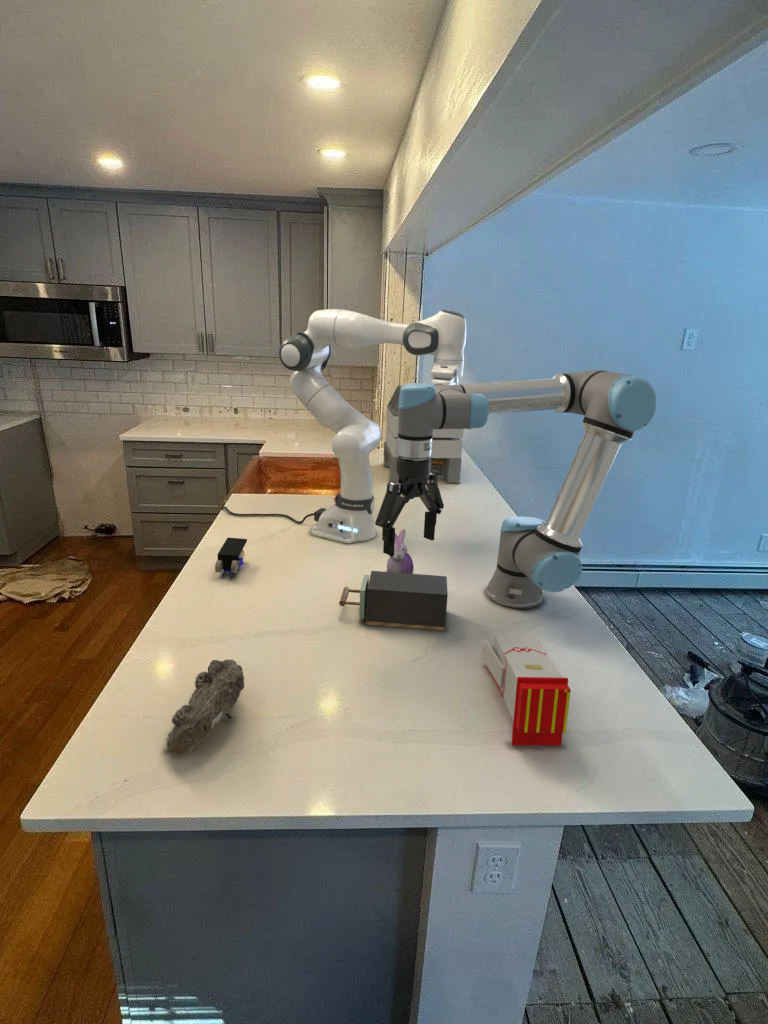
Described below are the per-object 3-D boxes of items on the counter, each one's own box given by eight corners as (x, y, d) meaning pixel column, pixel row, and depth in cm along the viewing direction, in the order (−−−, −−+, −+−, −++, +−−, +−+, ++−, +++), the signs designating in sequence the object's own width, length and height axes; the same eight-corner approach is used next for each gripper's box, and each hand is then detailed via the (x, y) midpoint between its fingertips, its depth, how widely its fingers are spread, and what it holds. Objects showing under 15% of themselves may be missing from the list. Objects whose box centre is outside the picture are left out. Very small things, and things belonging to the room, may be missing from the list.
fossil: (192, 660, 117) (244, 628, 112) (224, 691, 120) (276, 661, 115) (142, 746, 98) (202, 712, 93) (182, 779, 101) (242, 748, 96)
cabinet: (365, 624, 142) (367, 588, 139) (370, 604, 152) (371, 570, 148) (444, 630, 141) (447, 594, 138) (443, 609, 151) (446, 576, 147)
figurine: (393, 588, 161) (395, 539, 156) (376, 573, 169) (378, 526, 164) (421, 582, 165) (425, 534, 160) (404, 568, 173) (407, 522, 168)
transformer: (382, 463, 289) (386, 382, 275) (445, 464, 293) (451, 384, 279) (390, 482, 257) (394, 392, 243) (460, 483, 261) (468, 394, 247)
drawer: (338, 617, 143) (338, 589, 140) (343, 600, 151) (344, 573, 149) (432, 624, 141) (434, 596, 139) (432, 606, 150) (434, 579, 147)
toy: (531, 618, 129) (580, 685, 100) (526, 672, 132) (572, 753, 102) (478, 617, 129) (511, 684, 99) (475, 671, 131) (505, 752, 102)
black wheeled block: (238, 584, 162) (249, 557, 175) (236, 562, 158) (247, 536, 172) (215, 584, 161) (227, 556, 175) (212, 561, 158) (225, 535, 171)
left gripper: (444, 365, 176) (441, 410, 180) (429, 371, 157) (425, 421, 162) (464, 367, 174) (460, 412, 179) (451, 373, 156) (447, 423, 160)
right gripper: (385, 469, 112) (382, 566, 120) (463, 451, 129) (456, 537, 136) (360, 462, 117) (358, 555, 125) (437, 445, 134) (432, 528, 141)
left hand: (444, 416), depth 170 cm, fingers open, 8 cm apart
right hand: (409, 546), depth 131 cm, fingers open, 13 cm apart
